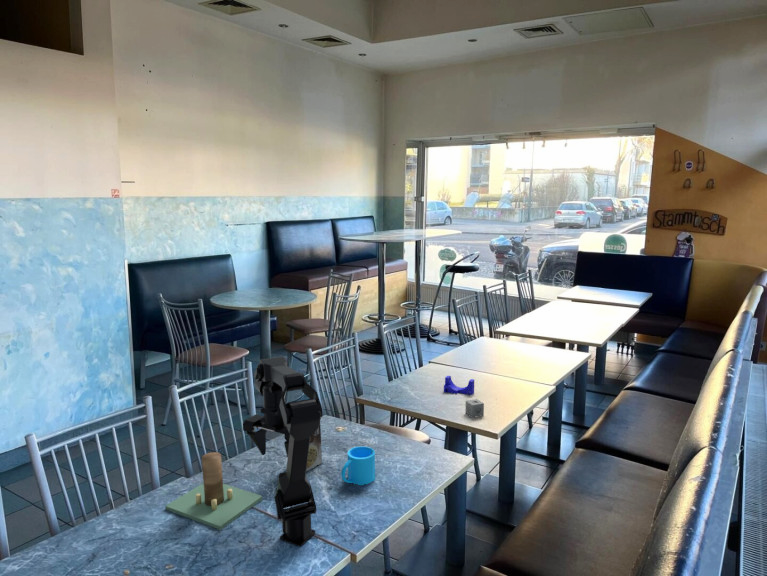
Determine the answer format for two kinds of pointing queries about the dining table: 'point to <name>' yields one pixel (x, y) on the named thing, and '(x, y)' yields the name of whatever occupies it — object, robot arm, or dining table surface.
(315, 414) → the robot arm
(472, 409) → the dice cube
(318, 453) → the coffee box
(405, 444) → the dining table surface
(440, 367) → the dining table surface
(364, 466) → the mug
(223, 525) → the standoff plate
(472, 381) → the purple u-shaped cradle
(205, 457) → the walnut cylinder
